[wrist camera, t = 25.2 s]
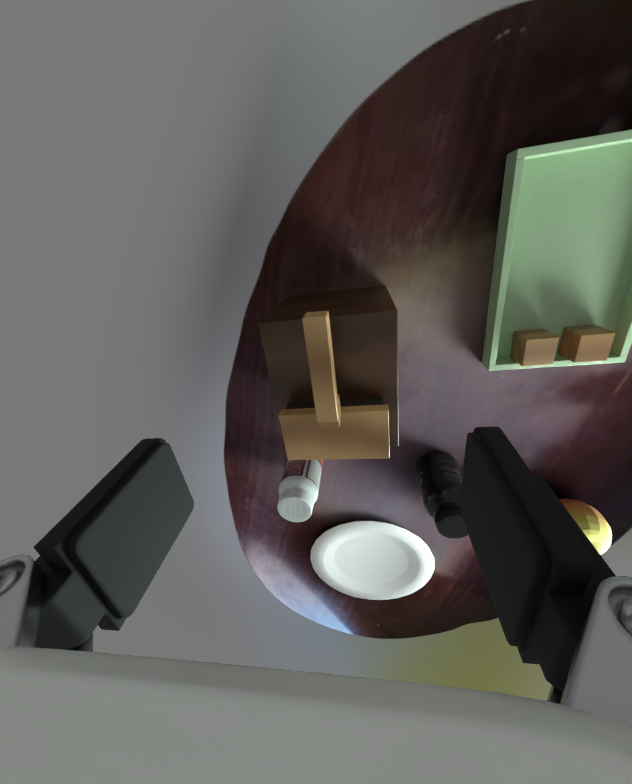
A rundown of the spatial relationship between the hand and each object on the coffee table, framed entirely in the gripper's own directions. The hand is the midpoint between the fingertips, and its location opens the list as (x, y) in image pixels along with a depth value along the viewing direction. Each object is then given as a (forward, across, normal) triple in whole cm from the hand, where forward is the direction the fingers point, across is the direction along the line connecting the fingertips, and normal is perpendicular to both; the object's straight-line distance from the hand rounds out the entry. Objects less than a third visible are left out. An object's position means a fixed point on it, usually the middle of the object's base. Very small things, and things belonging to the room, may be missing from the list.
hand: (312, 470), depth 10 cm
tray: (+35, -25, 0) cm, 43 cm away
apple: (+34, -32, +40) cm, 62 cm away
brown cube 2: (+34, -28, +10) cm, 45 cm away
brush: (+21, +2, +7) cm, 22 cm away
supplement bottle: (+35, -12, +30) cm, 48 cm away
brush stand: (+35, +2, +8) cm, 36 cm away
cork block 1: (+34, -23, +10) cm, 42 cm away
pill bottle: (+35, +10, +29) cm, 46 cm away
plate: (+34, -1, +55) cm, 65 cm away
